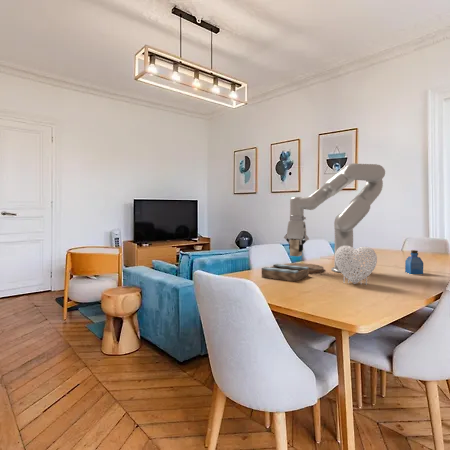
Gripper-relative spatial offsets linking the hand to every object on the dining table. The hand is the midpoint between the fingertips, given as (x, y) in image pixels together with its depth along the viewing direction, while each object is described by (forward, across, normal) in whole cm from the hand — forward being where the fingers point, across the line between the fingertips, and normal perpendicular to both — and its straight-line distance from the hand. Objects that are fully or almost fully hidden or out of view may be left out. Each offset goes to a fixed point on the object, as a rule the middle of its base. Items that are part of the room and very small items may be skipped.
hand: (295, 250), depth 187 cm
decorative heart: (+10, -38, +18) cm, 43 cm away
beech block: (+3, 0, 0) cm, 3 cm away
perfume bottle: (+10, -56, -24) cm, 61 cm away
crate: (+11, -4, +22) cm, 25 cm away
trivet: (+11, -2, -1) cm, 11 cm away
